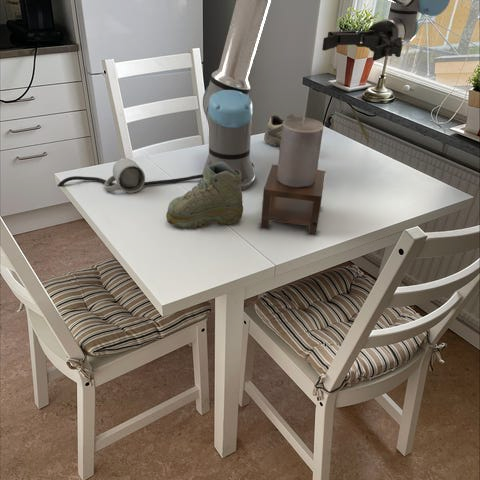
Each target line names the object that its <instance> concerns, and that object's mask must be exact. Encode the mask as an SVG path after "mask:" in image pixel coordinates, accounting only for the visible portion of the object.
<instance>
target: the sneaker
mask: <svg viewBox="0 0 480 480" xmlns="http://www.w3.org/2000/svg"><path fill="white" fill-rule="evenodd" d="M241 180H242V176H241V173H240V171H239V170H232V169H231V168H230V167H229V166H228V165H227V164H226V163H224V162H217V163H215V164H213V165H207V167H206V172H205V176H204V178H200V181H199V183H198V184H196V185H194V186H193V187H192V188H191V190H189V191H187V192H186V193H184V194H183V195H182V196H181V195H180V196H178V197H175V198H173V199H172V200H171V201H170V202H169V203H168V206H167V210H166V214H165V217H166V221H167V223H169V224H171V225H172V226H174V227H176V228H180V229H182V228H184V229H190V228H191V229H195V228H202V227H204V226H205V227H206V226H207V225H209V224H210V223H212V222H216V223H217V224H218V225H222V226H223V225H226V226H228V225H235V224H238V223H239V221H240V220H241V219H242V217H243V213H244V205H243V204H244V203H243V201H244V200H243V192H242V190H241V185H240V182H241Z"/></svg>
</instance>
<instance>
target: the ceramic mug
mask: <svg viewBox="0 0 480 480" xmlns="http://www.w3.org/2000/svg"><path fill="white" fill-rule="evenodd" d="M105 180H106V182H105V183H103V186H104V188H105V190H106V192H109V193H113V192H115V191H117V190H122V192H125V193H127V194H133V193H137V192H139V191H141V189H142V188H143V187H144V186H143V185H144V183H145V182H146V175H145V172H144V170H143V169H142V167H140V166H139V165H138V164H137V163H136V161H135V160H132V159H131V158H127V157H122V158H120V159H118V160H117V161H115V162H114V164H113V166H112V176H110V177H108V178H107V179H105ZM110 182H112V183H115V182H116V183H115V185H113V186H110V185H109V183H110ZM127 187H132V188H127Z"/></svg>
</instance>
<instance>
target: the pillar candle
mask: <svg viewBox="0 0 480 480" xmlns="http://www.w3.org/2000/svg"><path fill="white" fill-rule="evenodd" d="M283 120H284V121H283V124H282V133H281V143H280V145H279V153H278V163H277V165H278V172H277V180H278V181H279V182H280V183H282V184H284V185H287V186H290V187H304V186H311V185H313V184H314V183H315V179H316V174H317V170H318V168H319V159H320V152H321V146H322V140H323V132H324V124H323V122H321V121H320V120H317V119H314V118H311V117H304V116H298V117H297V116H296V117H293V118H288V119H286V118H285V119H283Z"/></svg>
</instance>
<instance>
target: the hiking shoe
mask: <svg viewBox="0 0 480 480" xmlns="http://www.w3.org/2000/svg"><path fill="white" fill-rule="evenodd" d="M293 117H297V116H296V115H295V114H292V113H291V114H290V115H288V116H287V117H286V118H285V119H288V118H293ZM285 119H281V117H280V116H278V115H271V116H270V117H269V119H268V120H267V124H266V128H265V133H264V134H263V140H264V142H265V143H266V144H269V145H270V146H273V147H278V146H280V143H281V133H282V124H283V121H284V120H285Z"/></svg>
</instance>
